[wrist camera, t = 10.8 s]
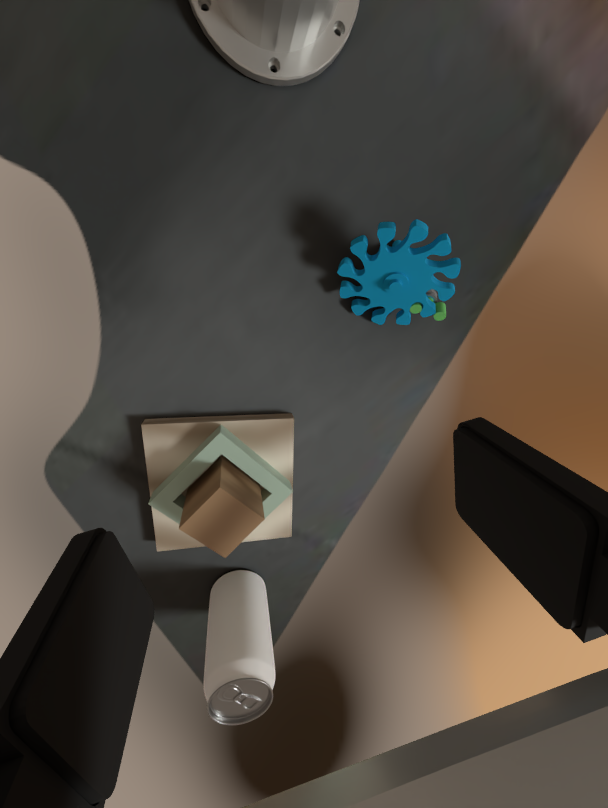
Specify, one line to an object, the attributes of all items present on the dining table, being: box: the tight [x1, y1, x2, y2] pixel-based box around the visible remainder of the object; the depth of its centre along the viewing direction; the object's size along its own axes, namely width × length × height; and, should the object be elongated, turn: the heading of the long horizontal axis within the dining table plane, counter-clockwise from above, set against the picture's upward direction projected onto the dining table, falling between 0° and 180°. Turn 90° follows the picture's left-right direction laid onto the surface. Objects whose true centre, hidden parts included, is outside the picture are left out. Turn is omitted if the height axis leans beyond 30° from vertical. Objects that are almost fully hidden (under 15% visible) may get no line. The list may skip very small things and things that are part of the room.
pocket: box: [148, 425, 293, 525], centre depth 33 cm, size 10×10×2 cm
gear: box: [337, 219, 461, 325], centre depth 30 cm, size 11×6×10 cm
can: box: [204, 570, 275, 725], centre depth 35 cm, size 6×6×12 cm
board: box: [141, 413, 294, 551], centre depth 35 cm, size 14×14×2 cm
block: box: [179, 455, 265, 558], centre depth 31 cm, size 5×5×6 cm
